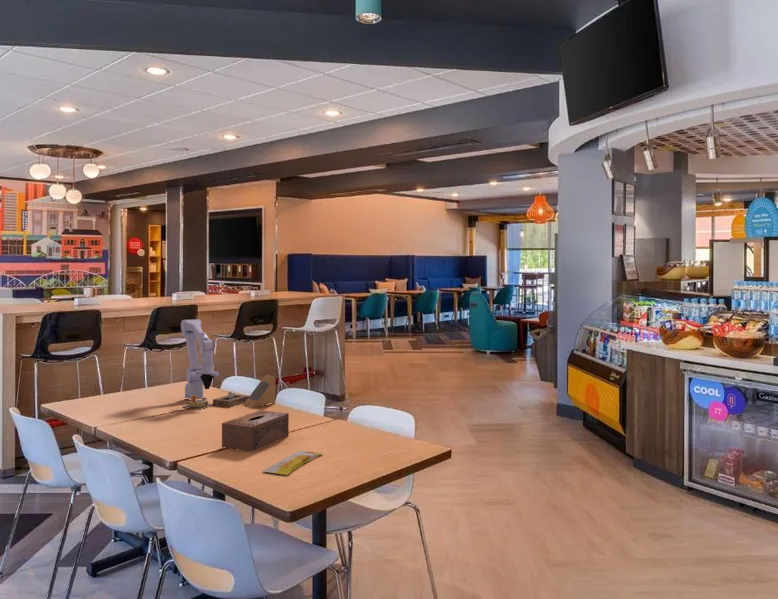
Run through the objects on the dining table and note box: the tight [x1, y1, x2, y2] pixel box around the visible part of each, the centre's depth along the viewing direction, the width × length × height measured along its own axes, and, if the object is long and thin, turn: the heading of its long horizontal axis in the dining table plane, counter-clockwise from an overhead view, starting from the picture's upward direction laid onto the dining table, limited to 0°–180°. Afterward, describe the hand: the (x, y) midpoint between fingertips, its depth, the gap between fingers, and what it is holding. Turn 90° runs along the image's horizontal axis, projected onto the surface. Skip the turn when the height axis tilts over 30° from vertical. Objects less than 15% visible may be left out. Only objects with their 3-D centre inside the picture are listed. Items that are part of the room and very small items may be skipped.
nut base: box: [182, 395, 215, 410], centre depth 319 cm, size 12×11×5 cm
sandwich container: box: [241, 374, 276, 409], centre depth 324 cm, size 9×15×15 cm, turn 136°
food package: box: [262, 450, 324, 476], centre depth 226 cm, size 27×2×10 cm
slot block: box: [212, 393, 250, 408], centre depth 328 cm, size 11×16×3 cm
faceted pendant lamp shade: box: [187, 395, 209, 407], centre depth 320 cm, size 9×10×4 cm
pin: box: [227, 391, 235, 400], centre depth 328 cm, size 3×3×6 cm
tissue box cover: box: [221, 409, 290, 452], centre depth 254 cm, size 26×14×10 cm, turn 156°
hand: (207, 388), depth 324 cm, fingers closed
